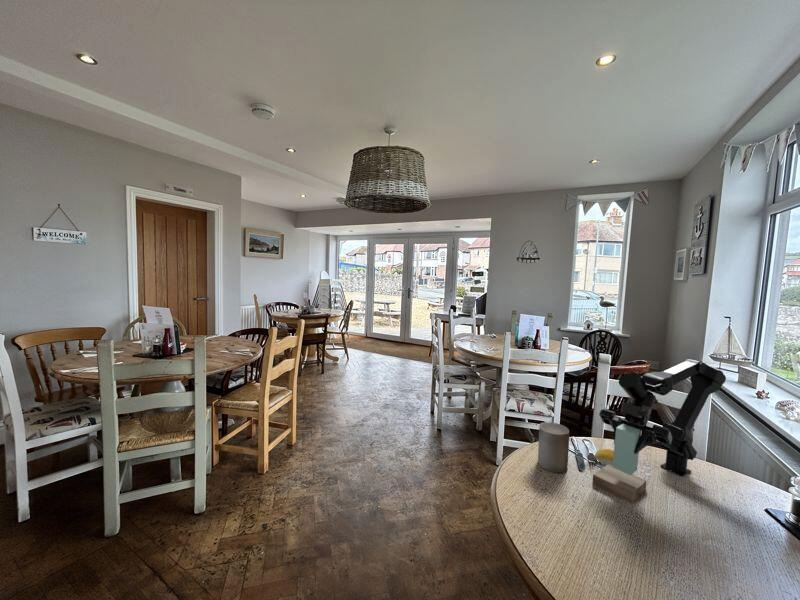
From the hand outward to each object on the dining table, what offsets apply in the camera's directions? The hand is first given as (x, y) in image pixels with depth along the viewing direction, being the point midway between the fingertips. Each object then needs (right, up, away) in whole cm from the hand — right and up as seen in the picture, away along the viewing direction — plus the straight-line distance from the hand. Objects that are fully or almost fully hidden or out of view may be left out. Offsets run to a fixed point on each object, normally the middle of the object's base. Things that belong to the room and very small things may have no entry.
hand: (624, 449), depth 103 cm
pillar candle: (-16, -12, +14) cm, 25 cm away
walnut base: (0, -13, +3) cm, 14 cm away
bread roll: (+6, -13, +18) cm, 23 cm away
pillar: (+1, -7, +1) cm, 7 cm away
